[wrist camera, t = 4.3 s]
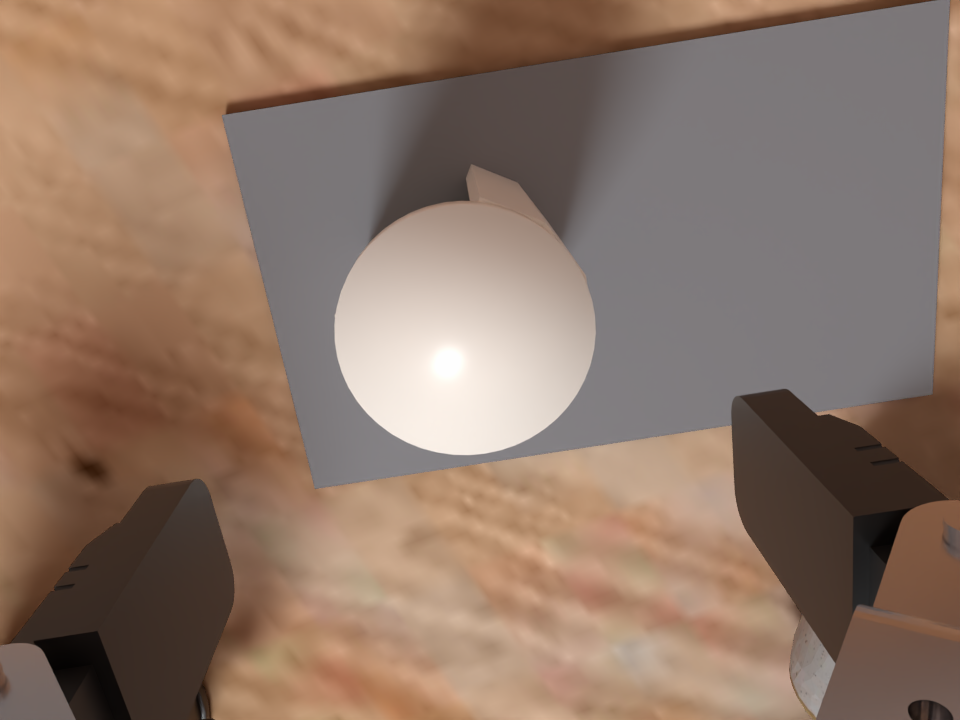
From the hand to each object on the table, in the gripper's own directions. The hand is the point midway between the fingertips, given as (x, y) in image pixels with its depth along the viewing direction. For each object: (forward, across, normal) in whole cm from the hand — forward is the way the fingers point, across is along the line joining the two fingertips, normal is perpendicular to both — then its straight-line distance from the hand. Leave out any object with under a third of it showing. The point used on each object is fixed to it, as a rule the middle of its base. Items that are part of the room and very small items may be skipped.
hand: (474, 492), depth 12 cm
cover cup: (+17, 0, 0) cm, 17 cm away
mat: (+17, -5, +1) cm, 18 cm away
